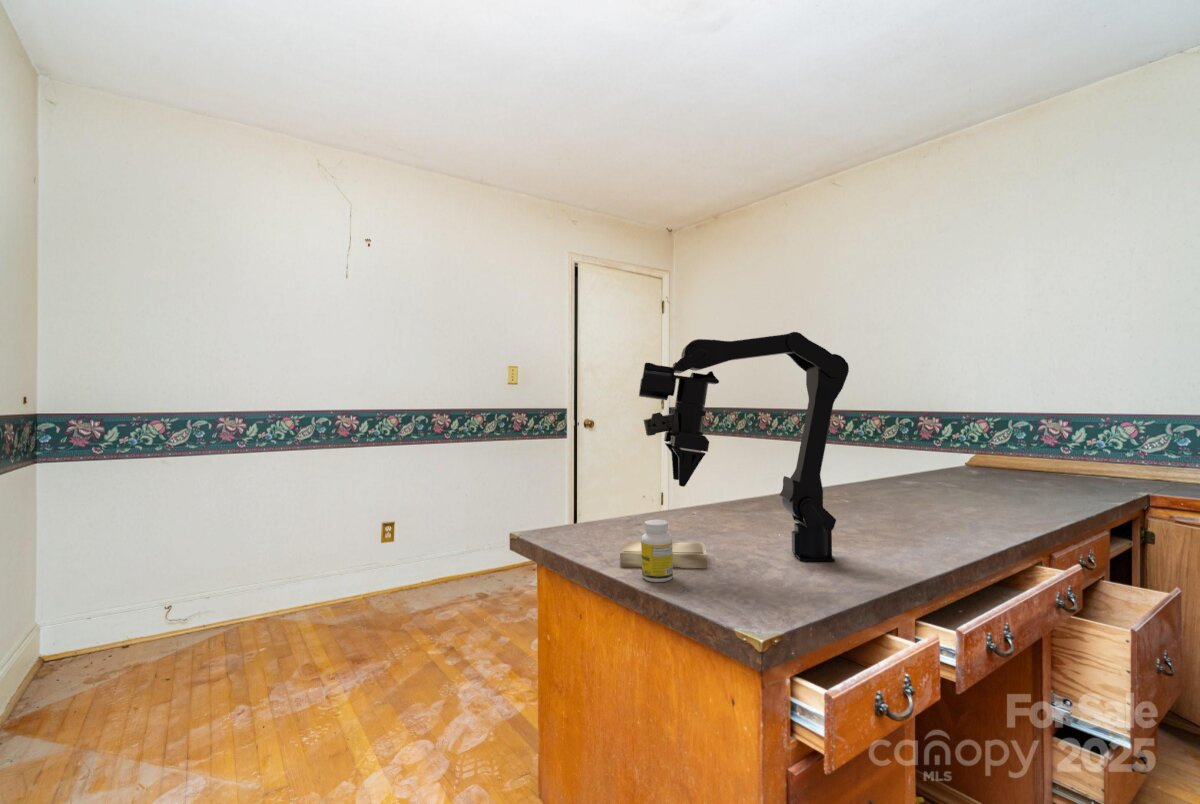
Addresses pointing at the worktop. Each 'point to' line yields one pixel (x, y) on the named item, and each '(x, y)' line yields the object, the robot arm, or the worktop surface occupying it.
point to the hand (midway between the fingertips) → (678, 482)
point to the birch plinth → (682, 552)
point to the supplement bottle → (657, 552)
